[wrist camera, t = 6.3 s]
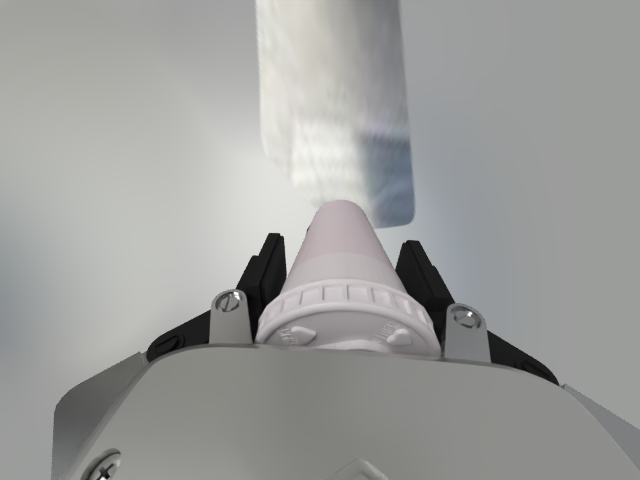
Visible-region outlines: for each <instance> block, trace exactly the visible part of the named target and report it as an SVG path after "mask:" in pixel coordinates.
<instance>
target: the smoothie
mask: <svg viewBox="0 0 640 480" xmlns="http://www.w3.org/2000/svg"><path fill="white" fill-rule="evenodd" d="M254 344H264V345H280V346H295V347H310V348H324V349H338V350H352V351H366V352H380V353H393V354H406V355H419V356H432V357H441V354H442V353H441V347H440V345H439V342H438V339H437V337H436V334H435V332H434V328H433V322H432V320H431V318H430V317H429V315H428V313H427V312H426V310H425V308H424V307H423V306H422V305H421V304H419V303H418V302H417V301H416V300H414V299H413V298H412V297H411V296H409V295H408V294H407V292H406V290H405V288H404V286H403V284H402V282H401V280H400V278H399V277H398V275H397V273H396V271H395V269H394V268H393V266H392V264H391V262H390V260H389V258H388V256H387V254H386V253H385V251H384V249H383V247H382V245H381V243H380V241H379V239H378V238H377V236H376V234H375V232H374V230H373V228H372V226H371V224H370V222H369V221H368V219H367V217H366V215H365V213H364V211H363V210H362V209H361V208H360V207H359V206H358V205H357V204H355V203H353V202H351V201H347V200H334V201H331V202H328V203H326V204H324V205H323V206H322V207H320V209H319V210H318V211H317V212H316V215H315V216H314V219H313V221H312V223H311V225H310V228H309V230H308V232H307V234H306V237H305V239H304V241H303V243H302V246H301V248H300V250H299V252H298V255H297V257H296V259H295V262H294V264H293V266H292V268H291V271H290V273H289V275H288V277H287V279H286V281H285V283H284V285H283V288H282V290H281V292H280V295H279V296H278V297H276V298H275V299H274V300H273V301H272V302H270V303H269V304H268V305H267V306H266V308H265V309H264V311H263V313H262V315H261V317H260V318H259V320H258V331H257V335H256V337H255V341H254Z"/></svg>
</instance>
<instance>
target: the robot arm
mask: <svg viewBox="0 0 640 480" xmlns="http://www.w3.org/2000/svg"><path fill="white" fill-rule="evenodd" d="M395 271H396V273H397V275H398V277H399V278H400V280H401V282H402V284H403V286H404V288H405V290H406V292H407V294H408V295H409V296H411V297H412V298H413V299H414V300H416V301H417V302H418V303H419V304H421V305H422V306H423V307H424V308H425V310H426V312H427V313H428V315H429V317H430V318H431V320H432V322H433V328H434V332H435V334H436V337H437V339H438V342H439V345H440V347H441V353H442V354H441V357H432V356H419V355H406V354H393V353H380V352H366V351H352V350H338V349H324V348H310V347H295V346H280V345H264V344H254V341H255V337H256V335H257V331H258V320H259V318H260V317H261V315H262V313H263V311H264V309H265V308H266V306H267V305H268V304H269V303H270V302H272V301H273V300H274V299H275V298H276V297H278V296H279V295H280V292H281V290H282V288H283V285H284V283H285V281H286V276H287V273H286V259H285V246H284V237H283V236H280V233H269V234H268V236H267V238H266V241H265V243H264V245H263V247H262V249H261V251H260V253H259V256H255V255H254V256H252V257H251V259H250V261H249V263H248V265H247V267H246V269H245V271H244V273H243V275H242V277H241V279H240V281H239V283H238V285H237V287H236V289H232V290H227V291H224V292H222V293H220V294H218V295H217V296H216V297H215V298H214V300H213V301H212V305H211V310H209V311H207V312H205V313H203V314H201V315H199V316H197V317H195V318H193V319H191V320H189V321H188V322H186V323H184V324H182V325H180V326H178V327H176V328H174V329H172V330H170V331H168V332H166V333H164V334H163V335H161V336H159V337H158V338H157V339H156V340H155V341H153V342H152V344H151V345H150V346H149V348H148V350H147V351H146V352H144V353H142V354H141V353H140V352H138V353H136V354H134V355H132V356H130V357H128V358H127V359H125V360H123V361H121V362H119V363H117V364H115V365H113V366H111V367H110V368H108V369H106V370H104V371H102V372H100V373H98V374H97V375H95V376H93V377H91V378H89V379H87V380H85V381H83V382H82V383H80V384H78V385H77V386H75V387H73V388H72V389H71V390H69V391H68V392H67V393H66V394H65V395H64V396H63V397H62V398H61V400H60V401H59V403H58V404H57V405H56V409H55V412H54V427H53V449H52V471H51V472H52V473H51V480H640V430H639V429H637V428H636V427H634V426H632V425H631V424H629V423H628V422H626V421H625V420H623V419H621V418H620V417H618V416H616V415H615V414H613V413H612V412H610V411H609V410H607V409H605V408H604V407H602V406H600V405H599V404H597V403H595V402H594V401H592V400H591V399H589V398H588V397H586V396H584V395H583V394H581V393H580V392H578V391H576V390H575V389H573V388H572V387H570V386H568V385H567V384H564V385H563V386H562V385H560V384H559V383H558V381H557V379H556V377H555V376H554V375H553V373H552V372H551V371H550V370H549V369H548V368H547V367H546V366H545V365H543V364H542V363H540V362H539V361H537V360H536V359H534V358H533V357H531V356H529V355H528V354H526V353H524V352H523V351H521V350H519V349H518V348H516V347H514V346H513V345H511V344H509V343H508V342H506V341H504V340H503V339H501V338H500V337H498V336H496V335H495V334H493V333H491V332H490V331H488V330H487V327H486V323H485V319H484V318H483V317H482V315H481V314H480V313H479V312H478V311H476V310H475V309H473V308H472V307H470V306H467V305H464V304H460V303H455V302H454V300H453V298H452V296H451V294H450V292H449V291H448V289H447V287H446V285H445V284H444V281H443V280H442V278H441V276H440V274H439V272H438V270H437V269H436V267H435V266H432V264H431V262H430V260H429V259H428V257H427V255H426V253H425V251H424V249H423V247H422V246H421V244H420V242H419V241H414V240H407V241H406V243H403V244H402V247H401V251H400V255H399V258H398V262H397V266H396V269H395Z"/></svg>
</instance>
